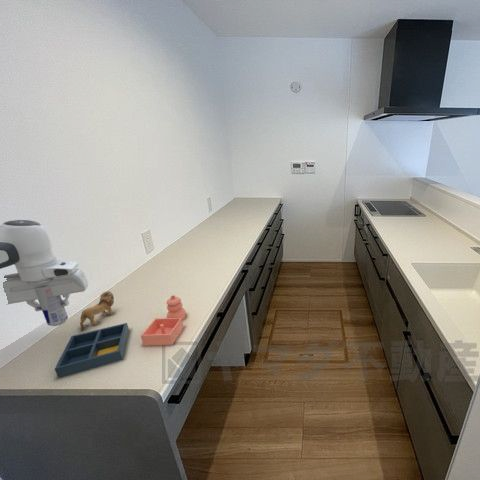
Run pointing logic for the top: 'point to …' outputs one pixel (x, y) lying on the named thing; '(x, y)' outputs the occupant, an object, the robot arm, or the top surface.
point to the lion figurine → (98, 308)
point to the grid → (93, 350)
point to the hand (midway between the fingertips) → (53, 307)
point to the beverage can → (51, 306)
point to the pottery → (166, 325)
